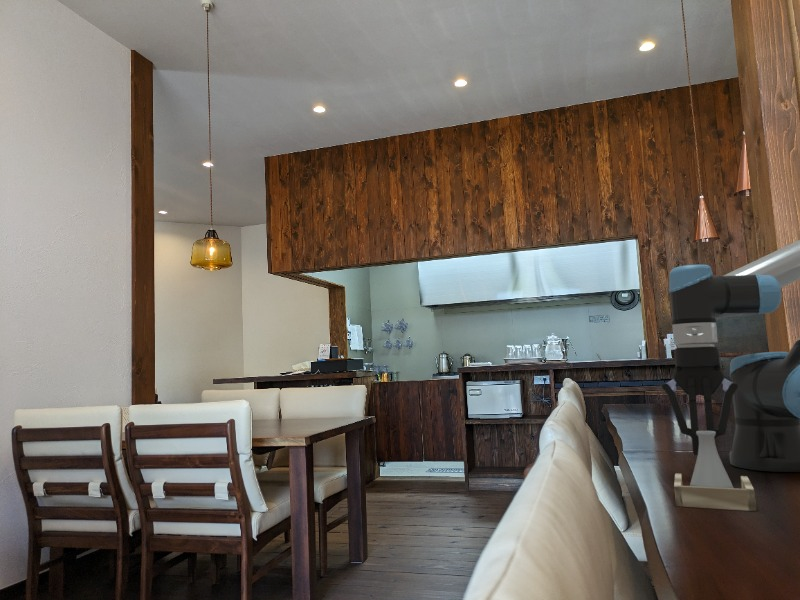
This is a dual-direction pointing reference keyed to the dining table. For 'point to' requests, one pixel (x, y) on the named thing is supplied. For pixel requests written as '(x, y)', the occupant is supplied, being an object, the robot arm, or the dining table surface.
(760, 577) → the dining table surface
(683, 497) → the caddy
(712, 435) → the flask
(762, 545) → the dining table surface
